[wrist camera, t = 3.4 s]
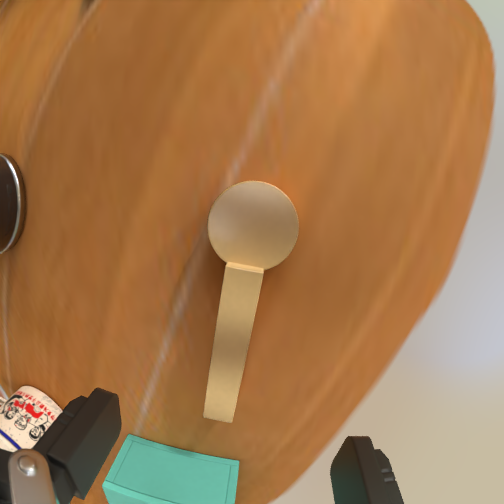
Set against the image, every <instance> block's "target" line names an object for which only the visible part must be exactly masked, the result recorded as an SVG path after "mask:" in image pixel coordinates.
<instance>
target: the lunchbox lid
mask: <svg viewBox="0 0 504 504" xmlns="http://www.w3.org/2000/svg"><path fill="white" fill-rule="evenodd" d="M102 487H103V490H104V493H105V495H106V498H107V500H108V503H109V504H176V503H172V502H169V501H165V500H161V499H158V498H154V497H151V496H148V495H144V494H141V493H138V492H135V491H132V490H129V489H127V488H124V487H121V486H118V485H116V484H113V483H110V482H108V481H104V483H103V485H102Z"/></svg>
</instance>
